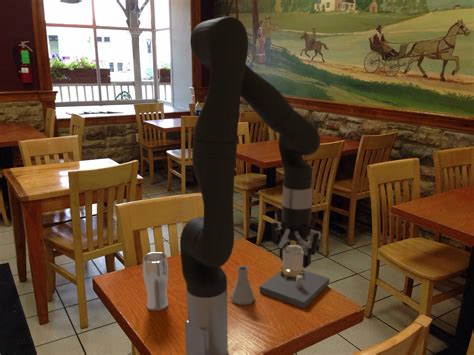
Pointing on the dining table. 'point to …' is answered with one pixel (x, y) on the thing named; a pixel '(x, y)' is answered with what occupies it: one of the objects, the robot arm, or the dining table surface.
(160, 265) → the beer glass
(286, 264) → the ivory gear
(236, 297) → the flask
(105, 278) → the dining table surface
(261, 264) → the dining table surface
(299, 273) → the brass gear
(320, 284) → the board
